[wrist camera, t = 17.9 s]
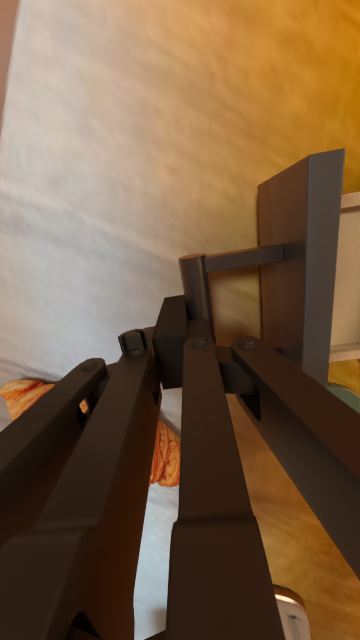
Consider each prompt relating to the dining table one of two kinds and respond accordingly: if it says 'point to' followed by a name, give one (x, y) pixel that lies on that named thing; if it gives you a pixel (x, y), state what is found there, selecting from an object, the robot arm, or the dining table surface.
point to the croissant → (30, 391)
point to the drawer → (298, 266)
